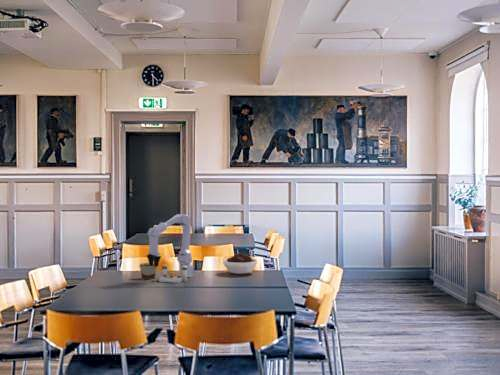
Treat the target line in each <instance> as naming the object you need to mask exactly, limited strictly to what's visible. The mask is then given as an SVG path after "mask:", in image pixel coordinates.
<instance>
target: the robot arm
mask: <svg viewBox="0 0 500 375" xmlns="http://www.w3.org/2000/svg"><path fill="white" fill-rule="evenodd" d="M158 223H159V224H157V225H154V226H153V227H150V228H149V229H148V231H147V236H148V239H149V241H148V242H149V247H148V248H149V251H147V254H146V257H147V260H148V263H149V265H153V263H154V266H155V267H156V268H158V267H159V263H160V260H161V258H162V256H161V255H160V254H161V253H160V252H159V236H160V234H162V233H163V232H165V231H166V230H168V229H167V228H168V227H170V226H172V225H174V224H179V225H180V226H181V228H182V236H181V246H180V247H181V248H180V250H179V252H178V255H177V258H176V259H177V262H178V265H179V267H178V268H179V270H178V271H179V275H176V276H181V277H182V266H187V278H190V277H194V276H195V275H194V265H193V263H192V260H193V258H192V252H191V251H190V244H191V243H190V242H191V229H192V224H191V217H190V216H189V215H188V214H182V213H181V214H180V213H177V214H176V215H173V217H171V218H169V219H168V220H167V221H166V222H158Z"/></svg>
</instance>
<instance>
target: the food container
mask: <svg viewBox="0 0 500 375" xmlns="http://www.w3.org/2000/svg"><path fill="white" fill-rule="evenodd" d="M139 268H140V276H141V277H140V278H141V279H143V280H144V279H146V280H150V279H153V280H155V279H156V275H157V273H156V272H157V267H155V266H154V262H153V265H149V262H148V263H147V262H144V263H140V264H139Z"/></svg>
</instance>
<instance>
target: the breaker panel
mask: <svg viewBox="0 0 500 375" xmlns="http://www.w3.org/2000/svg"><path fill="white" fill-rule="evenodd" d="M158 277H159V278H158V282H159V283H169V284H170V283H174V284H180V283H182V282H184V281H183V277H181V276H177V275H175V276H170V275H168V274H167V275H164V276H162V275H161V276H158Z"/></svg>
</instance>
